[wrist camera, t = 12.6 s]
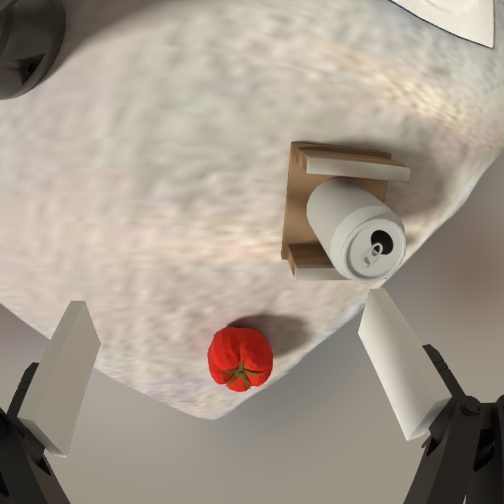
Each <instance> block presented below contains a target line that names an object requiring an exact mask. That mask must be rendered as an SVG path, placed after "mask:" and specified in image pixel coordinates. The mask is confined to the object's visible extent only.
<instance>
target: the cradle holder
mask: <svg viewBox="0 0 504 504" xmlns="http://www.w3.org/2000/svg"><path fill="white" fill-rule="evenodd" d="M410 172H411V169H410V168H408V167H406V166H404V165H402V164H399V163H397V162H395V161H393V160H391V154H389V153H386V152H379V151H372V150H365V149H357V148H349V147H340V146H330V145H320V144H309V143H296V142H291V149H290V161H289V174H288V185H287V197H286V208H285V219H284V229H283V240H282V250H281V257H282V259H285V260H288V261H289V264H290V267H291V270H292V273H293V275H294V278H295V280H352V279H348V278H346V277H344V276H343V275H341V274H340V273H339V272H338V271H337V269H336V268H335V267H334V265H333V264H332V262H331V260H330V258H329V257H328V255H327V253H326V252H325V250H324V248H323V246H322V245H321V243H320V241H319V239H318V238H317V236H316V234H315V233H314V231H313V229H312V228H311V226H310V224H309V221H308V218H307V215H306V214H307V203H308V200H309V198H310V195H311V194H312V192H313V191H314V190H315V188H316V187H317V186H319V185H320V184H321V183H323V182H324V181H326V180H329V179H332V178H347V179H350V180H353V181H355V182H356V183H358V184H359V185H360V186H362V187H363V188H364V189H366V190H367V191H368V192H369V193H371V194H372V195H373V196H375V197H376V198H377V199H379V200H380V201H381V202H382V203H383V202H384V197H385V191H386V185H387V180H389V181H397V182H405V183H409V178H410ZM385 279H386V278H385Z"/></svg>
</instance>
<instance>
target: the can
mask: <svg viewBox="0 0 504 504" xmlns="http://www.w3.org/2000/svg"><path fill="white" fill-rule="evenodd" d="M306 215H307V218H308V221H309V224H310V226H311V228H312V229H313V231H314V233H315V234H316V236H317V238H318V239H319V241H320V243H321V245H322V246H323V248H324V250H325V252H326V253H327V255H328V257H329V258H330V260H331V262H332V264H333V265H334V267H335V268H336V269H337V271H338V272H339V273H340V274H341V275H343V276H344V277H346V278H348V279H352V280H355V281H356V282H361V283H365V284H366V283H376V282H378V281H381V280H383V279H385V278H387V277H388V276H389V275H391V274H392V273H394V271H395V270H396V269H397V268H398V267H399V266H400V264H401V262H402V260H403V258H404V256H405V252H406V247H407V243H406V236H405V230H404V225H403V223H402V221H401V219H400V217H399V216H398V215H397V214H396V213H395V212H393V211H392V210H391V209H390V208H389V207H387V206H386V205H385V204H384V203H382V202H381V201H380V200H379V199H377V198H376V197H375V196H373V195H372V194H371V193H369V192H368V191H367V190H366V189H364V188H363V187H362V186H360V185H359V184H358V183H356V182H355V181H353V180H350V179H347V178H332V179H329V180H326V181H324V182H323V183H321V184H320V185H319V186H317V187H316V188H315V190H314V191H313V192H312V194H311V195H310V198H309V200H308V203H307V214H306Z"/></svg>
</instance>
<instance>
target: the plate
mask: <svg viewBox="0 0 504 504" xmlns="http://www.w3.org/2000/svg"><path fill="white" fill-rule="evenodd" d="M389 1H391V2H393V3H394V4H396V5H398V6H399V7H401V8H403V9H405V10H406V11H408V12H409V13H411V14H413V15H414V16H416V17H418V18H420V19H422V20H424V21H426V22H428V23H430V24H432V25H434V26H436V27H438V28H440V29H442V30H445V31H447V32H449V33H451V34H453V35H455V36H458V37H460V38H463V39H466V40H469V41H472V42H475V43H478V44H480V45H483V46H486V47H488V48H492V47H493V33H494V15H493V0H389Z"/></svg>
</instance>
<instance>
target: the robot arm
mask: <svg viewBox="0 0 504 504" xmlns="http://www.w3.org/2000/svg"><path fill="white" fill-rule="evenodd" d="M64 29H65V14H64V9H63V6H62V4H61V2H60V0H0V100H4V99H12V98H15V97H18V96H21V95H22V94H24V93H26V92H27V91H29V90H30V89H32V88H33V87H34V86H35V85H36V84H37V83H38V82H39V81H40V80H41V79H42V78H43V77H44V75H45V74H46V73H47V71H48V70H49V68H50V67H51V65H52V64H53V62H54V60H55V58H56V56H57V54H58V51H59V49H60V46H61V43H62V39H63V35H64ZM358 334H359V336H360V338H361V340H362V342H363V344H364V346H365V348H366V350H367V352H368V355H369V356H370V359H371V361H372V363H373V365H374V367H375V369H376V372H377V374H378V376H379V378H380V380H381V383H382V385H383V387H384V389H385V391H386V394H387V396H388V398H389V400H390V403H391V405H392V407H393V409H394V412H395V414H396V416H397V419H398V421H399V423H400V426H401V428H402V430H403V433H404V435H405V438H406V440H407V441H408V440H411V439H414V438H417V437H420V436H423V434H424V433H425V432H426V431H427V429H428V428H429V430H430V432H431V435H430V436H429V437H428V439H427V440H426V441H425V442H424V443H423V445H422V446H421V447H422V448H424V447H425V445H426V444H427V445H426V448H425V451H424V453H423V456H422V459H421V462H420V465H419V467H418V470H417V473H416V475H415V478H414V480H413V483H412V485H411V487H410V490H409V492H408V494H407V497H406V499H405V501H404V503H403V504H463V502H464V498H465V495H466V502H465V504H504V395H502V396H501V397H499V399H498V400H497V401H496V402H495V403H480V402H479V401H478V400H477V399H476V398H474V397H472V396H466V395H465V393H464V392H463V390H462V389H461V387H460V385H459V384H458V382H457V380H456V379H455V377H454V375H453V374H452V372H451V371H450V369H448V366H447V364H446V363H445V362H444V359H443V358H442V356H441V355H440V353H439V352H438V351H437V350H436V349H435V348H433V347H432V346H431V345H430V344H428V345H423V346H422V345H421V344H420V342H419V340H418V339H417V337H416V336H415V334H414V333H413V331H412V329H411V328H410V326H409V325H408V323H407V322H406V320H405V319H404V317H403V316H402V314H401V313H400V311H399V310H398V308H397V307H396V306H395V304H394V302H393V301H392V299H391V298H390V296H389V295H388V294H387V292H386V291H385V289H384V288H378V289H370V290H369V294H368V298H367V302H366V306H365V309H364V313H363V317H362V321H361V324H360V328H359V331H358ZM100 345H101V343H100V341H99V338H98V335H97V333H96V330H95V328H94V325H93V322H92V320H91V317H90V314H89V311H88V308H87V305H86V303H85V301H71V302H70V304H69V306H68V307H67V309H66V311H65V313H64V315H63V317H62V319H61V321H60V322H59V324H58V326H57V328H56V330H55V332H54V334H53V336H52V338H51V340H50V342H49V345H48V346H47V349H46V351H45V353H44V355H43V357H42V359H41V361H40V363H34V362H33V363H32V364H31V365H30V366H29V367H28V368H27V369H26V370H25V372H24V374H23V377H22V379H21V382H20V383H19V386H18V390H16V392H15V395H14V397H13V399H12V402H11V404H10V406H9V409H8V411H7V414H5V412H4V411H3V410H2V409H1V408H0V504H70V502H69V500H68V498H67V497H66V495H65V493H64V491H63V490H62V488H61V486H60V484H59V482H58V480H57V478H56V476H55V475H54V472H53V470H52V469H51V466H50V464H49V462H48V461H47V458H46V457H45V455H44V454H43V453H44V449H45V448H46V449H47V450H48V451H49V452H50V453H51V454H53V455H58V456H62V457H66V458H67V457H68V453H69V448H70V444H71V440H72V436H73V432H74V429H75V425H76V421H77V418H78V414H79V411H80V407H81V404H82V400H83V397H84V394H85V390H86V387H87V384H88V381H89V377H90V374H91V371H92V368H93V365H94V362H95V359H96V356H97V353H98V350H99V348H100Z"/></svg>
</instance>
